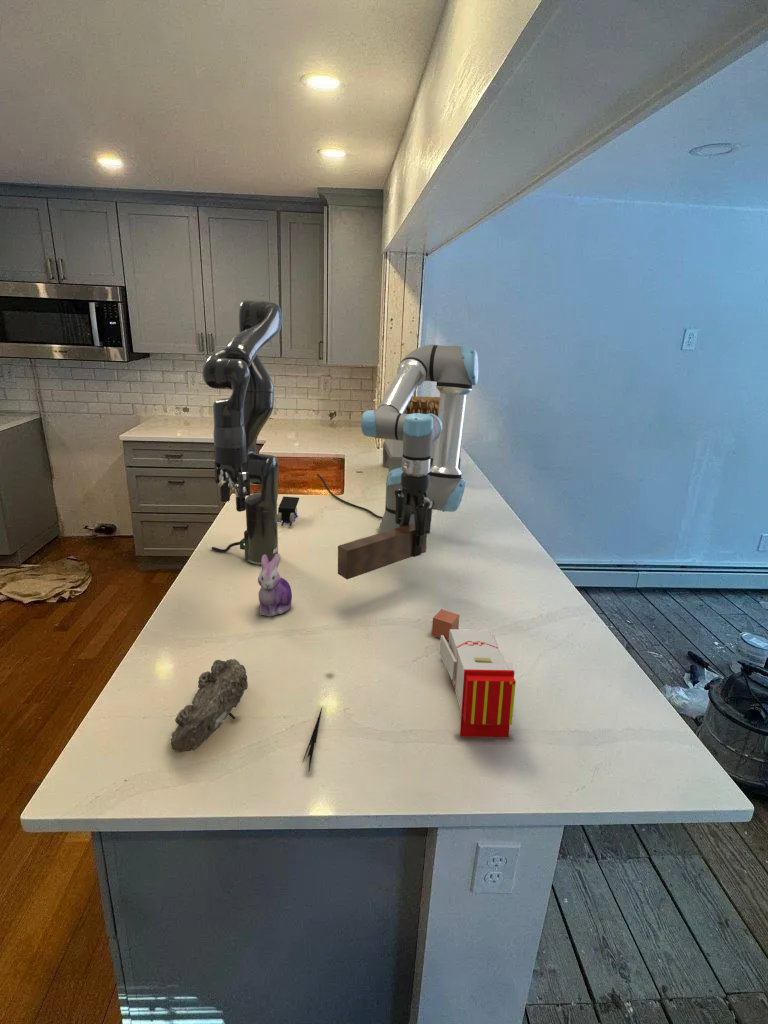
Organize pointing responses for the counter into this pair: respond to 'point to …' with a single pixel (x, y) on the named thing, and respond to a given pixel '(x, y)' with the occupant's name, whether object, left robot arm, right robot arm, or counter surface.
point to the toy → (479, 682)
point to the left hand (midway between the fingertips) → (233, 506)
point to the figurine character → (287, 510)
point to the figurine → (273, 588)
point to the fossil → (210, 704)
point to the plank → (376, 551)
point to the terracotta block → (444, 623)
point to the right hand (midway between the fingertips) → (410, 552)
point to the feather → (313, 740)
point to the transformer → (395, 447)
